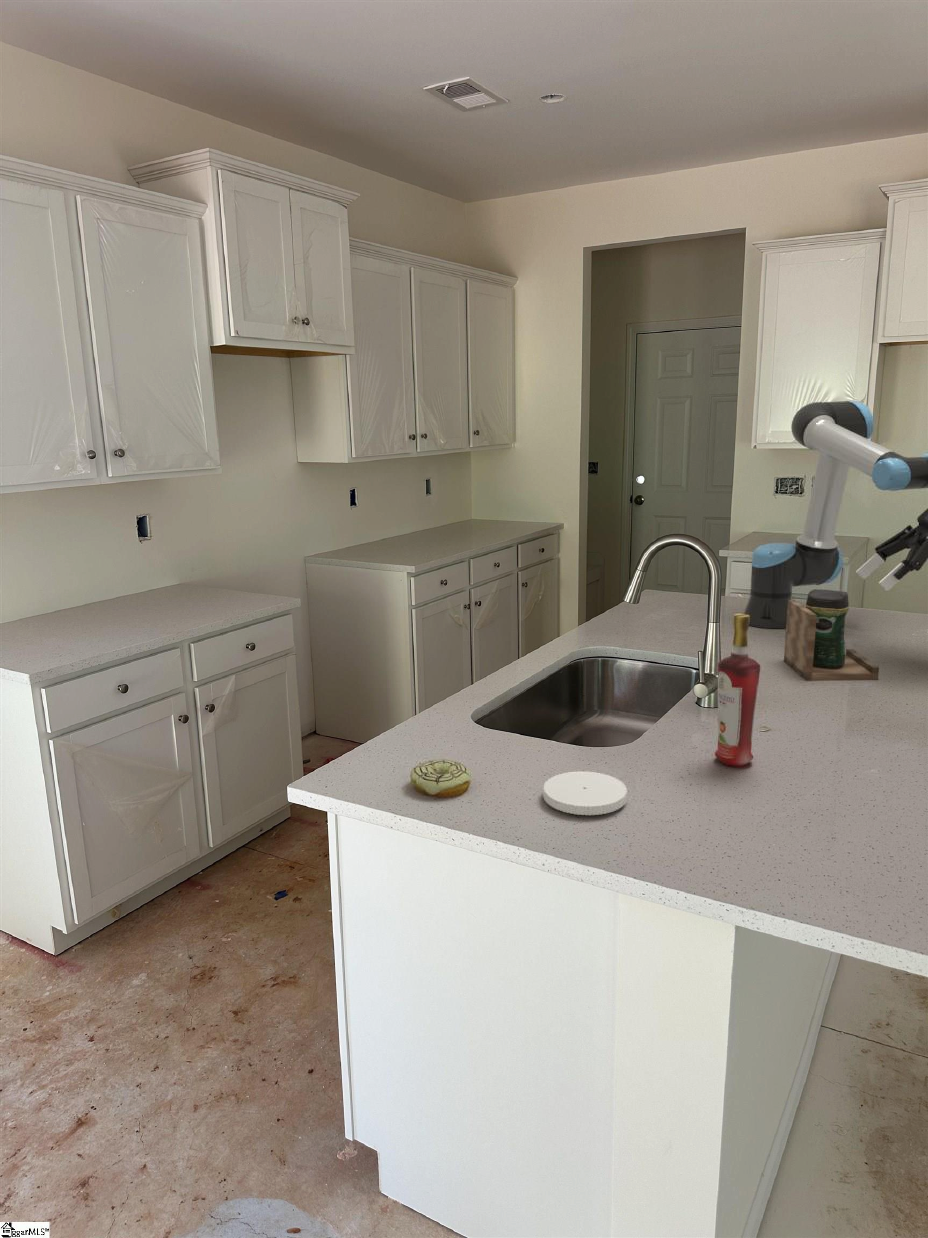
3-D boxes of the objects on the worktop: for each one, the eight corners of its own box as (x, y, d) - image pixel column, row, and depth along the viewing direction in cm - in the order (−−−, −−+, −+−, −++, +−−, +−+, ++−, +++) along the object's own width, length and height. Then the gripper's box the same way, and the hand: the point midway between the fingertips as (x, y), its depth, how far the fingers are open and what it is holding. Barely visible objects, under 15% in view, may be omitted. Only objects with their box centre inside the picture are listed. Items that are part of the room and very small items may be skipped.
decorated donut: (432, 806, 148) (431, 786, 147) (400, 785, 156) (399, 765, 155) (482, 790, 153) (481, 770, 153) (448, 770, 162) (447, 751, 161)
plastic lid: (628, 788, 153) (629, 774, 153) (624, 824, 140) (624, 810, 140) (549, 781, 157) (549, 768, 156) (537, 817, 143) (537, 802, 143)
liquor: (704, 758, 164) (711, 613, 158) (736, 751, 167) (744, 609, 160) (730, 772, 158) (739, 622, 151) (762, 765, 161) (772, 617, 154)
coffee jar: (846, 662, 216) (853, 589, 212) (840, 671, 210) (847, 595, 205) (805, 657, 221) (811, 585, 217) (798, 665, 215) (803, 591, 210)
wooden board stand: (783, 661, 224) (788, 599, 220) (851, 660, 223) (856, 599, 219) (805, 680, 208) (810, 614, 204) (877, 679, 208) (884, 614, 204)
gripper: (980, 536, 194) (904, 603, 198) (927, 521, 218) (860, 581, 223) (958, 513, 193) (882, 580, 197) (907, 500, 217) (841, 561, 222)
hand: (870, 581), depth 210 cm, fingers open, 13 cm apart
